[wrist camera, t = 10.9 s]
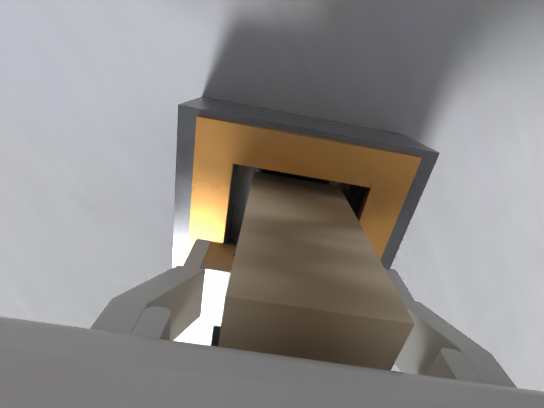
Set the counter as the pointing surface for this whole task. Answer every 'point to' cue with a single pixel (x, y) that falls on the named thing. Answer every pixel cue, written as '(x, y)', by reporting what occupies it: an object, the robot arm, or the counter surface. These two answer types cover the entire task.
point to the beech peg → (310, 280)
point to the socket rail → (288, 163)
